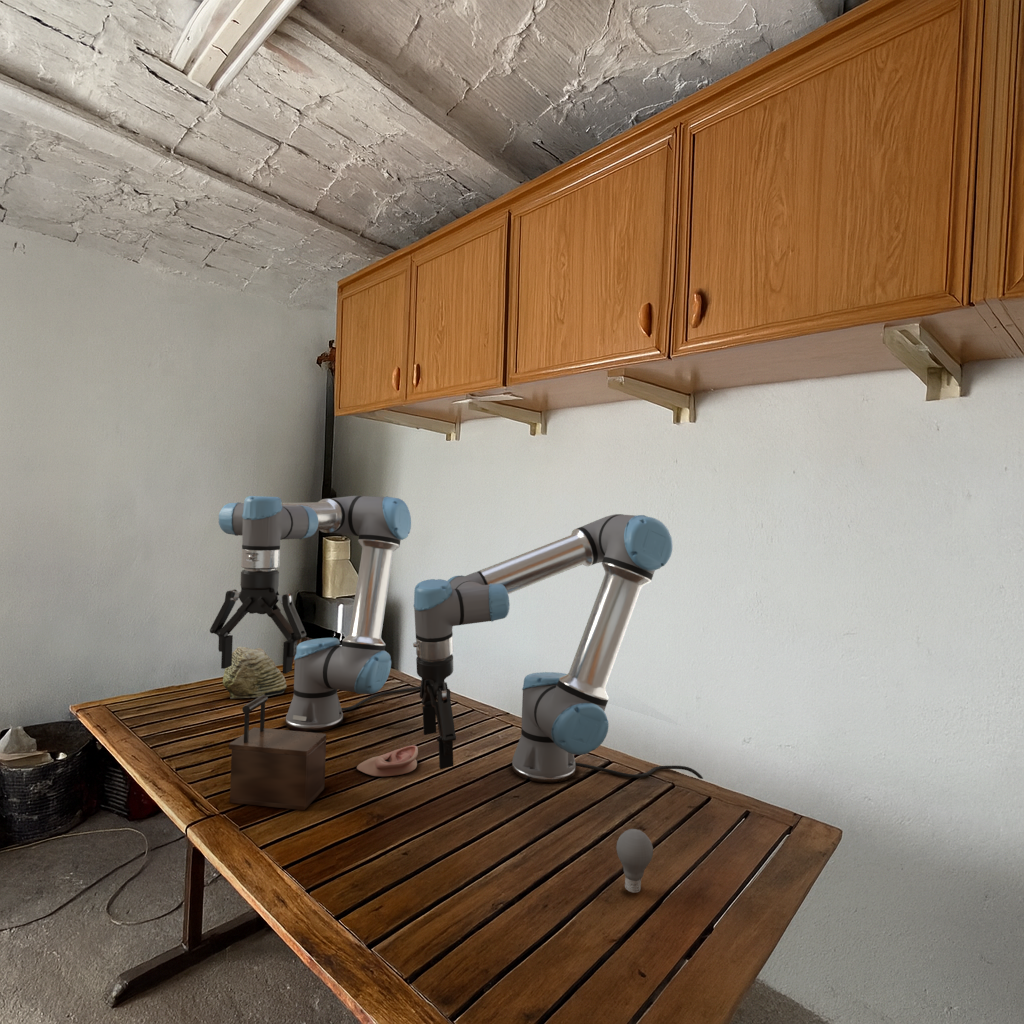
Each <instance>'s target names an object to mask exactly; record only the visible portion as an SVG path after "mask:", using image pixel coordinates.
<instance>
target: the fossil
mask: <svg viewBox="0 0 1024 1024" xmlns="http://www.w3.org/2000/svg"><path fill="white" fill-rule="evenodd" d="M222 676H223V677H222V685H223V687H224V688H225V690H226V691H228V693H229V698H230V699H250V698H258V697H260V696H262V695H266V696H267V697H271V696H275V695H281V694H284V693H285V691H286V689H287V687H288V686H287V680H286V678H285V676H284V674H283V672H281V669H279V668H278V667H277V665H276V663H275V662H274V660H273V659H272V658H271V657H270V656H269V655H268V654H267V653H266V652H265V650H264V649H263V648H260V647H258V648H251V647H247V646H246V647H245V646H238V647H237V648H236V649H235V650H233V651H232V666H229V667H227V668H225V669H224V671H223V675H222Z"/></svg>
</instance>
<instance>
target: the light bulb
mask: <svg viewBox="0 0 1024 1024" xmlns="http://www.w3.org/2000/svg"><path fill="white" fill-rule="evenodd" d="M615 849H616V854H617V857H618V859H619V861H620V863H621V865H622V867H623V873H624V874H623V875H624V876H625V878H624V888H625V890H627V891H628V892H630V893H634V894H635V893H639V892H640V891H641V889H642V887H641V886H642V879H643V877H644V875H645V871H646V868H647V867H648V866H649V864H650V863H651V861H652V859H653V855H654V847H653V843H652V841H651V838H649V836H648V835H647V834H646V833H645V832H643V831H642V830H641V829H636V828H629V829H627V830H625V831H623V832H622V833H621V834H620V835H619V837H618V839H617V841H616V847H615Z"/></svg>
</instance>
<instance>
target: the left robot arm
mask: <svg viewBox="0 0 1024 1024" xmlns="http://www.w3.org/2000/svg"><path fill="white" fill-rule="evenodd" d="M218 526H219V528H220V530H221V531H222V532H223V533H225V534H228V535H233V536H236V537H237V536H241V537H242V541H241V543H242V544H241V565H240V566H241V568H242V570H241V571H240V591H238V590H237V589H230V590H227V591H225V595H224V596H225V597H224V602H223V603H222V605H221V608H220V610H219V611H218V613H217V615H216V617H215V619H214V621H213V623H212V624H211V627H210V629H209V633H210V634H215V635H216V636H218V637H217V638H218V646H217V647H218V648H217V649H218V652H219V653H221V658H220V659H221V660H220V662H221V664H220V669H222V670H225V668H227V667H229V666H232V653H233V642H234V641H233V640H234V639H233V638H234V637H233V635H232V634H231V632H232V631H233V630H234V629H235V628H236V626H237V625H238V624H239V623H240V622H241V621H242V619H244V617H245V616H246V615H248V613H249V614H250V615H251V614H258V615H265V614H266V615H267V617H269V618H271V620H272V621H273V623H274V624H275V626H276V627H277V628H278V630H279V631H280V633H282V635H283V636H284V638H285V639H286V641H283V653H282V674H283V675H284V674H286V675H287V674H288V673H290V672H292V671H293V660H294V672H293V695H292V696H293V697H292V699H291V702H290V704H289V708H288V711H287V713H286V715H285V726H286V728H287V729H288V730H291V731H301V732H312V733H319V732H325V731H329V730H332V729H335V728H337V727H339V726H340V725H342V723H343V722H344V713H343V712H345V711H351V710H353V709H356V708H357V707H359V706H361V705H362V704H364V703H366V702H368V701H370V700H372V699H375V698H377V697H381V696H385V695H391V694H397V693H404V692H411V691H417V690H420V688H421V685H420V686H419V685H418V686H413V687H406V688H400V689H395V690H387V691H382V692H379V691H380V690H381V689H382V688H383V687H384V685H385V684H386V682H387V680H388V678H389V676H390V673H391V668H392V659H391V654H390V653H389V652H387V651H386V650H385V649H386V643H385V642H384V640H383V639H382V631H383V627H384V625H383V624H384V619H385V612H386V606H387V599H388V593H389V592H388V591H389V585H390V578H391V571H392V566H393V565H392V564H393V558H394V557H393V556H394V552H395V551H396V550H397V549H399V548H400V547H401V541H403V540H406V539H407V538H408V537H409V534H410V533H411V529H412V516H411V512H410V509H409V507H408V505H407V503H406V502H405V501H404V500H403V499H401V498H400V497H399V498H398V497H392V496H375V495H374V496H371V495H368V496H367V495H348V496H340V497H332V498H331V497H330V498H321V499H320V500H318V501H316V502H315V501H314V502H312V501H311V502H282V499H281V498H280V497H279V496H268V495H267V496H265V495H263V496H262V495H259V496H258V495H249V496H246V497H245V498H244V501H243V502H239V501H238V502H229V503H226V504H225V505H223V506H222V507H221V508H220V510H219V513H218ZM317 531H320V532H321V533H325V534H339V535H340V534H341V535H347V536H352V537H358V539H357V543H359V545H360V546H361V548H362V549H361V556H360V563H359V568H358V575H357V582H356V587H355V595H354V601H353V608H352V614H351V621H350V626H349V633H348V635H346V636H345V637H344V638H343V639H342V641H340V639H339V638H337V637H321V638H313V639H307V640H304V641H302V642H299V643H298V640H301V639H304V638H305V637H306V636H307V632H306V630H305V627H304V625H303V623H302V620H301V618H300V616H299V613H298V611H297V609H296V606H295V604H294V595H293V593H292V592H288V593H285V594H284V593H283V594H280V593H279V586H280V571H279V570H278V569H279V568H280V563H281V561H280V560H281V541H282V540H303V539H307V538H311V537H312V536H314V535H315V534H316V532H317ZM238 600H240V602H241V605H240V606H239V607H238V608H237V609H236V612H235V613H234V614H233V615H232V616H231V617H230V618H229V616H230V614H231V612H232V610H233V609H234V607H235V605H236V602H237V601H238ZM278 602H279V603H280V604H281V605H282V609H283V611H284V613H285V615H286V617H285V616H284V615H283V613H282V612H281V608H280V607H279V606H278V604H277V603H278ZM228 618H229V620H228ZM227 620H228V621H227ZM226 621H227V622H226ZM340 644H341V645H340ZM338 691H344V692H351V693H356V694H358V695H362V694H363V695H370V696H368V697H366V698H364V699H362V700H360V701H359V702H356V703H355V704H353V705H351V706H346V707H342V706H341V702H340V699H339V695H338Z"/></svg>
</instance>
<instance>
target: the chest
mask: <svg viewBox="0 0 1024 1024" xmlns="http://www.w3.org/2000/svg"><path fill="white" fill-rule="evenodd" d="M326 754H327V738H326V739H325V740H324V741H323V742H322V743H321V744H320V745H318V746H317V747H316V748H315V749H314V750H313V751H312V752H311V753H310V754H309V755H307V756H297V755H286V754H275V753H264V752H254V751H243V750H232V749H231V755H230V756H231V759H230V760H231V762H230V785H229V787H230V789H229V803H230V804H240V805H250V806H259V807H269V808H278V809H288V810H298V811H305V810H306V809H307V808H308V807H309V806H310V805H311V804H312V803H314V801H315V800H316V798H318V796H319V795H320V794H321V793H322V792H323V791H324V790H325V786H326V785H325V783H326V781H325V780H326V759H327V758H326V756H327V755H326Z"/></svg>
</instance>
